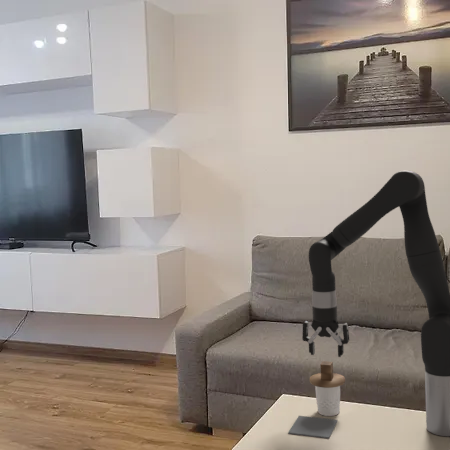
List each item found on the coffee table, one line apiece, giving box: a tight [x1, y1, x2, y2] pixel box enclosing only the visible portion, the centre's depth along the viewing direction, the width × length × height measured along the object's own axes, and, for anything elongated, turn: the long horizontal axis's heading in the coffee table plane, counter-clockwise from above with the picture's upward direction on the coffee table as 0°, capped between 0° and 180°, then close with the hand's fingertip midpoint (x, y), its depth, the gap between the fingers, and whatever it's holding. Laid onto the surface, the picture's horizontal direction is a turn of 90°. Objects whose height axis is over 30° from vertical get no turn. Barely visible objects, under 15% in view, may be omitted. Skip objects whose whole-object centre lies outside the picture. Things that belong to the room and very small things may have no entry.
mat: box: [287, 415, 339, 439], centre depth 173 cm, size 12×12×1 cm
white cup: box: [314, 386, 341, 417], centre depth 183 cm, size 8×8×10 cm
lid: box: [309, 360, 346, 388], centre depth 183 cm, size 11×11×6 cm
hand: (326, 355), depth 182 cm, fingers open, 8 cm apart
